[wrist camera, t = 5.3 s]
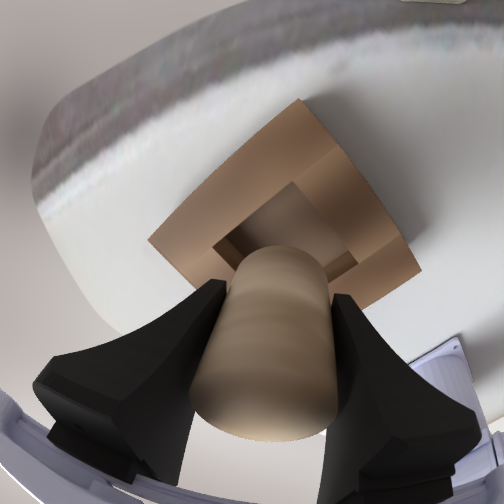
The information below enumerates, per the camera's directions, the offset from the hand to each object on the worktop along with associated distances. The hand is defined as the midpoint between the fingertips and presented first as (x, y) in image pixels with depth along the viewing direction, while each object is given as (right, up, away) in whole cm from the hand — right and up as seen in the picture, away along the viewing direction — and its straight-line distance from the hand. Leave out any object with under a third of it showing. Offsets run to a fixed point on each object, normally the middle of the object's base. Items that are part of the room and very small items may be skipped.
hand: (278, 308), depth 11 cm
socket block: (+1, +3, +7) cm, 8 cm away
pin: (0, +1, +1) cm, 1 cm away
